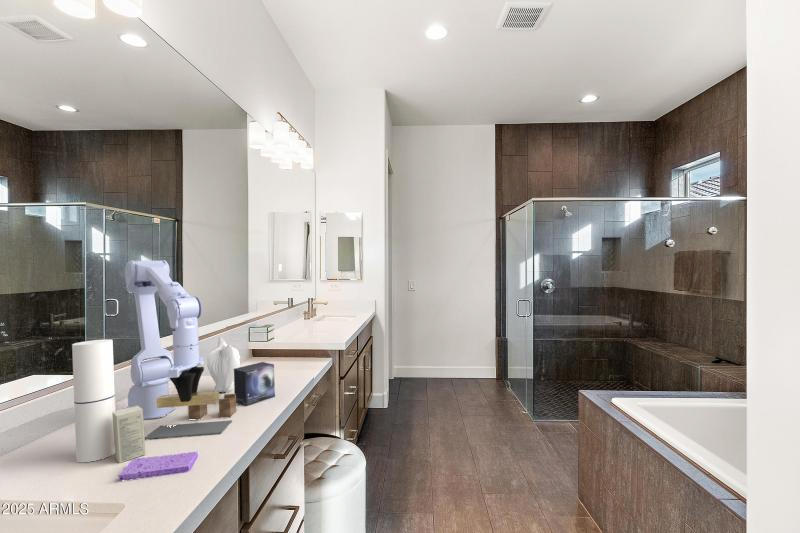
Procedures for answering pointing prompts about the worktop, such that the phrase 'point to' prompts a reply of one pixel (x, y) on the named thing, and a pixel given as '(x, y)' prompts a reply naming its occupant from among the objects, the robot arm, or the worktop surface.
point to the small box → (254, 383)
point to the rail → (196, 399)
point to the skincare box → (128, 433)
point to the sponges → (158, 466)
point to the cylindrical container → (94, 399)
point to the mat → (189, 429)
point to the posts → (225, 408)
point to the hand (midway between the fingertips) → (188, 399)
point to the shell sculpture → (223, 365)
